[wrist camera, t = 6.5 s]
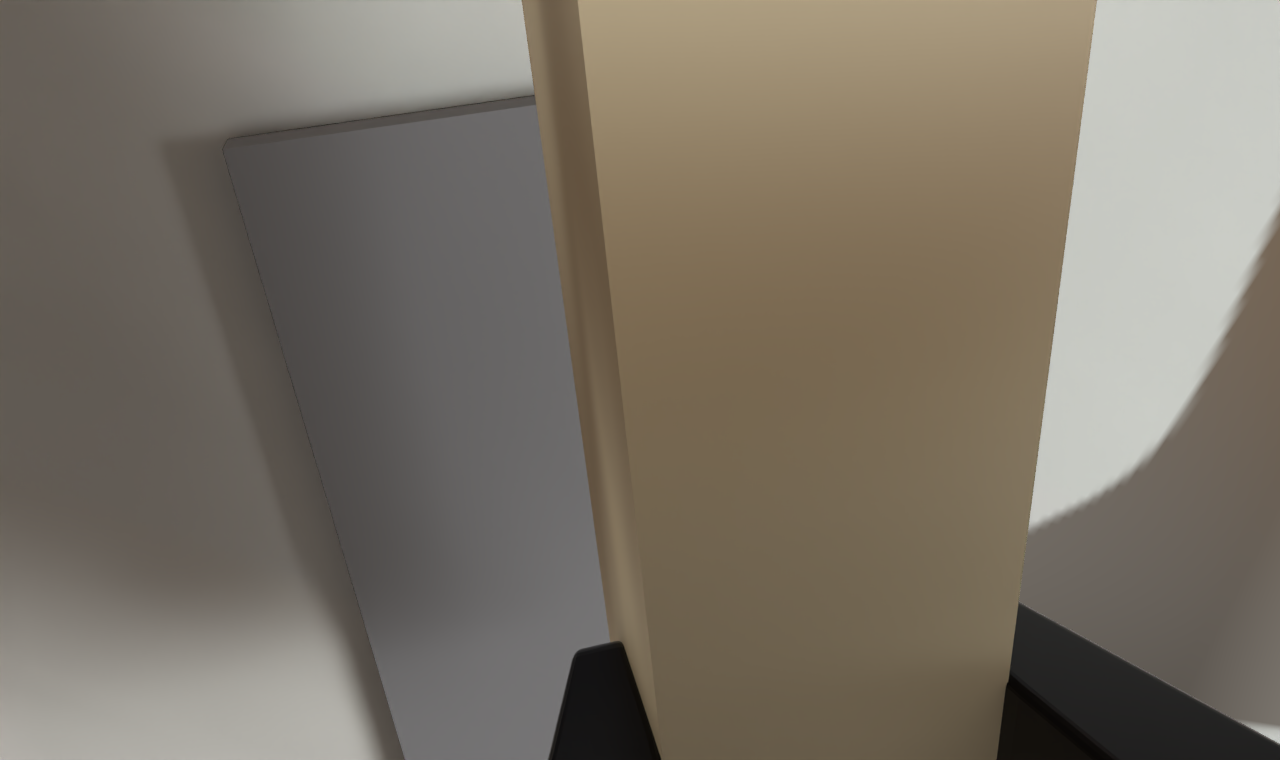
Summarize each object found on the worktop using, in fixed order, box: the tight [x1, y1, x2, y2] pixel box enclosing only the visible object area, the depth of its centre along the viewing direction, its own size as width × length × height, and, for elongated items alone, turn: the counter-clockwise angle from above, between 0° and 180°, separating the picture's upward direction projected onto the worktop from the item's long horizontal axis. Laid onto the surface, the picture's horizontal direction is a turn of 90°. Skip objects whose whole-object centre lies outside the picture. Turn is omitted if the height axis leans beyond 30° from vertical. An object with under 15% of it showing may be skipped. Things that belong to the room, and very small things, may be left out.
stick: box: [522, 0, 1097, 760], centre depth 6 cm, size 14×2×2 cm, turn 5°
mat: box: [222, 96, 610, 760], centre depth 15 cm, size 18×8×1 cm, turn 5°
